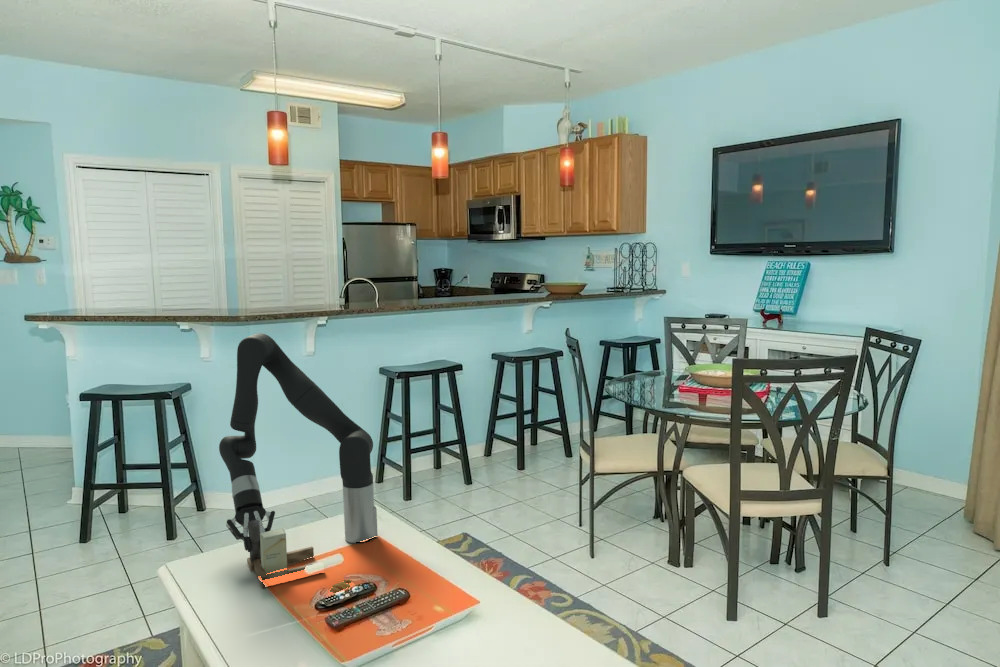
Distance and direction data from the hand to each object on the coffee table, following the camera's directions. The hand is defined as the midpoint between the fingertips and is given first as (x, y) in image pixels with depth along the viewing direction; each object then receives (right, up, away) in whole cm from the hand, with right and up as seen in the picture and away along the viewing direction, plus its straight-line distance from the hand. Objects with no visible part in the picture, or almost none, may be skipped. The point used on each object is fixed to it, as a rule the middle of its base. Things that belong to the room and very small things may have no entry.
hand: (256, 549), depth 182 cm
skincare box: (+7, -6, -5) cm, 10 cm away
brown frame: (+8, -5, 0) cm, 10 cm away
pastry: (+28, -7, -18) cm, 34 cm away
